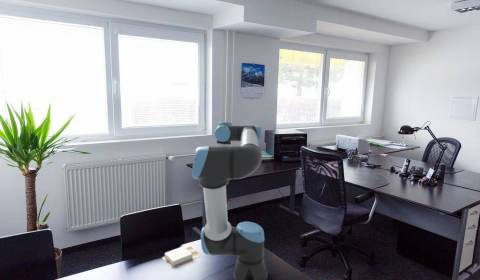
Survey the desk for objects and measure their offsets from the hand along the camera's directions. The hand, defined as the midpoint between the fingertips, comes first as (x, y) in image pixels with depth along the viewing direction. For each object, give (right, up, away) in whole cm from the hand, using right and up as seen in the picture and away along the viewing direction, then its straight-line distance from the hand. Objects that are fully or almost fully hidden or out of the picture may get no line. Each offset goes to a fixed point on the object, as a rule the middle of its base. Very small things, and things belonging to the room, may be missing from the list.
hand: (220, 197), depth 155 cm
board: (-18, -28, -10) cm, 35 cm away
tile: (-15, -25, -8) cm, 31 cm away
